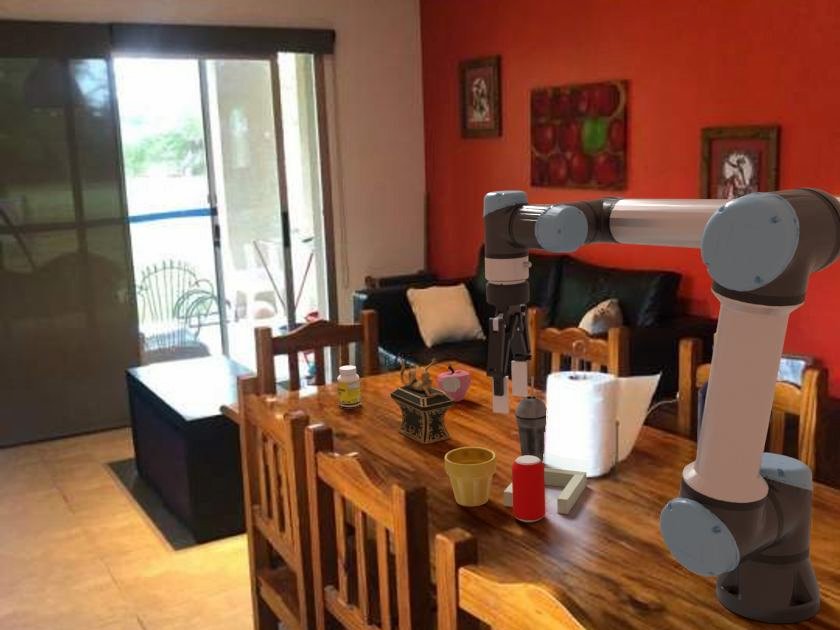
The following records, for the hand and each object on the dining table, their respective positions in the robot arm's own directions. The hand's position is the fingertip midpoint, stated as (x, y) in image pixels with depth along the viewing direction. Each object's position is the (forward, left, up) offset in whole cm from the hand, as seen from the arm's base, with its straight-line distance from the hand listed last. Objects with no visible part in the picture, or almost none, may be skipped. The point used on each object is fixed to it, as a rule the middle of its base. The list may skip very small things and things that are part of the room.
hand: (510, 403), depth 160 cm
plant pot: (+13, +14, -26) cm, 32 cm away
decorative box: (+49, +41, -26) cm, 69 cm away
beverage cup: (+37, +8, -26) cm, 46 cm away
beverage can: (+9, 0, -26) cm, 27 cm away
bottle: (+45, -31, -26) cm, 60 cm away
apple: (+77, +43, -26) cm, 92 cm away
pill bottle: (+65, +70, -26) cm, 99 cm away
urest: (+20, 0, -26) cm, 33 cm away
